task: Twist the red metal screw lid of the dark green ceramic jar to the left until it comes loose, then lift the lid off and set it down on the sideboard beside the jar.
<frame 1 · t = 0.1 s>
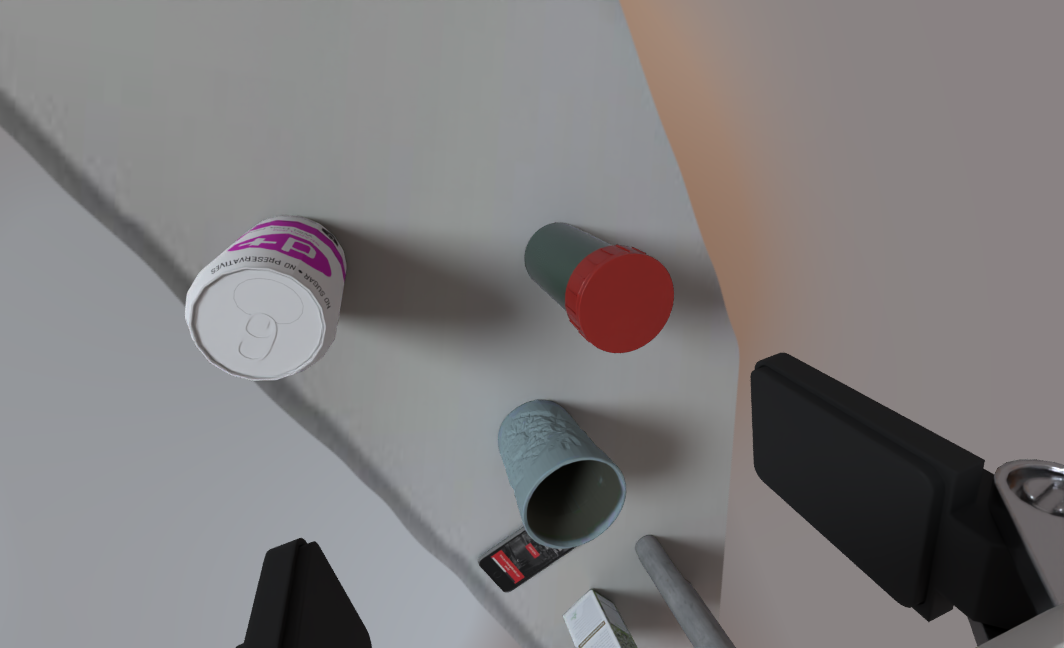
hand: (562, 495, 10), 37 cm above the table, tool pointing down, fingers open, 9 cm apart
lid: (624, 303, 36), point 14 cm above the table, screwed on, not yet turned
supplement can: (295, 262, 42), on the table
hip flask: (661, 568, 70), on the table
embossed blue cup: (536, 431, 56), on the table
smartphone: (541, 538, 61), on the table
jar: (556, 256, 49), on the table
syrup box: (588, 607, 69), on the table
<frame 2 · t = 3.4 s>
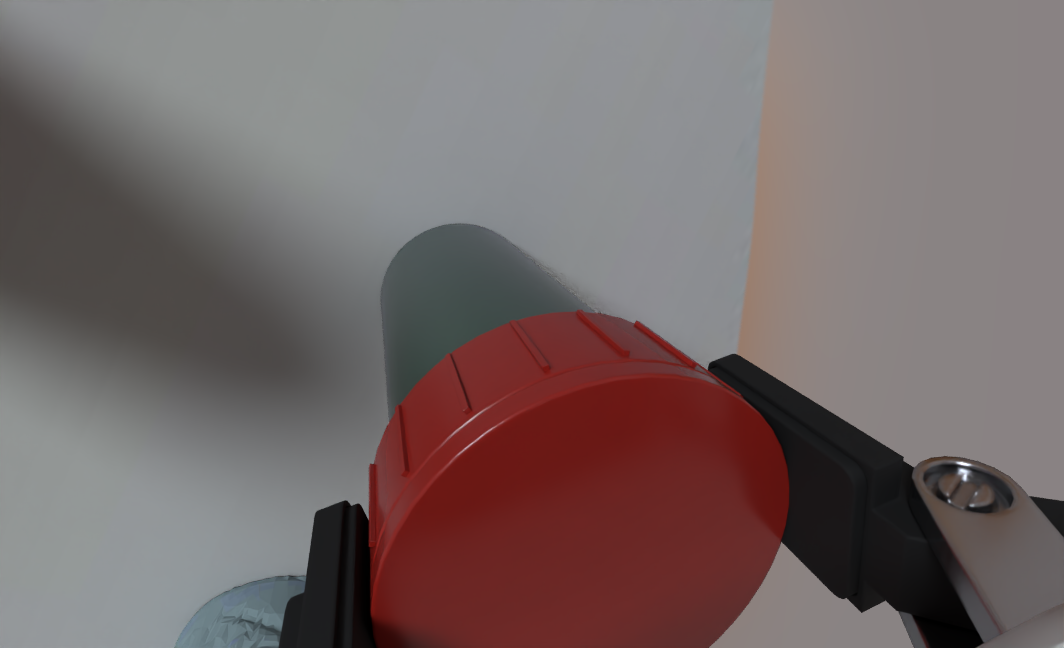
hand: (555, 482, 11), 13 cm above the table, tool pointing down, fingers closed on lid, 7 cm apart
lid: (592, 552, 9), point 14 cm above the table, screwed on, not yet turned, touching gripper
embossed blue cup: (282, 636, 25), on the table
jar: (459, 299, 22), on the table
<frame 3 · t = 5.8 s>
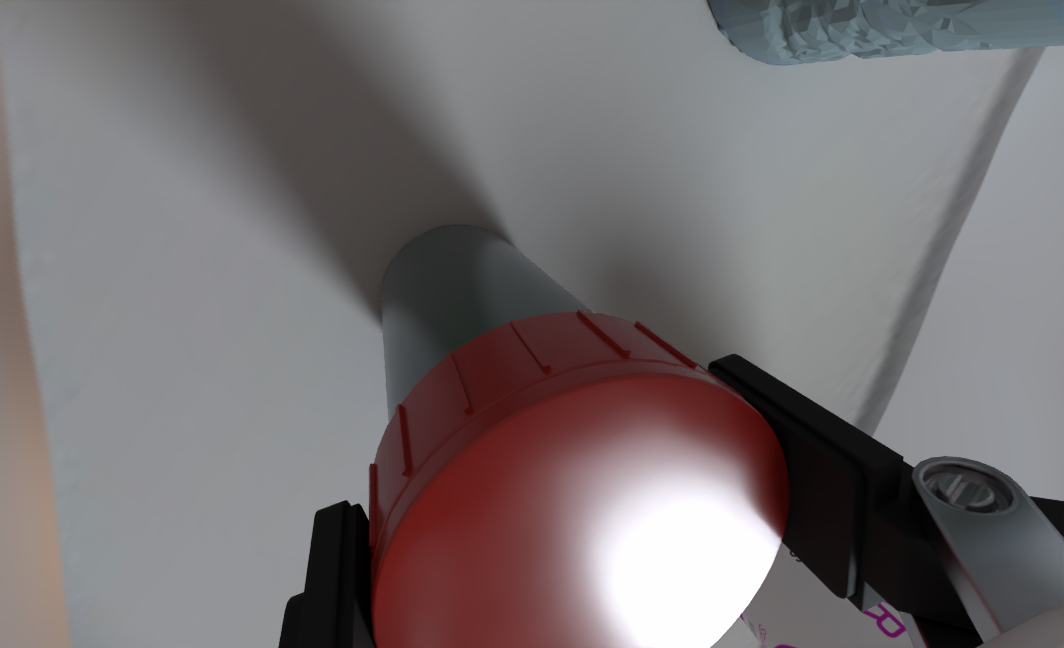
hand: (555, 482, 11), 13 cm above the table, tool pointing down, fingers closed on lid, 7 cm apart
lid: (593, 553, 9), point 15 cm above the table, off its thread, touching gripper
supplement can: (735, 506, 32), on the table
jar: (459, 300, 22), on the table
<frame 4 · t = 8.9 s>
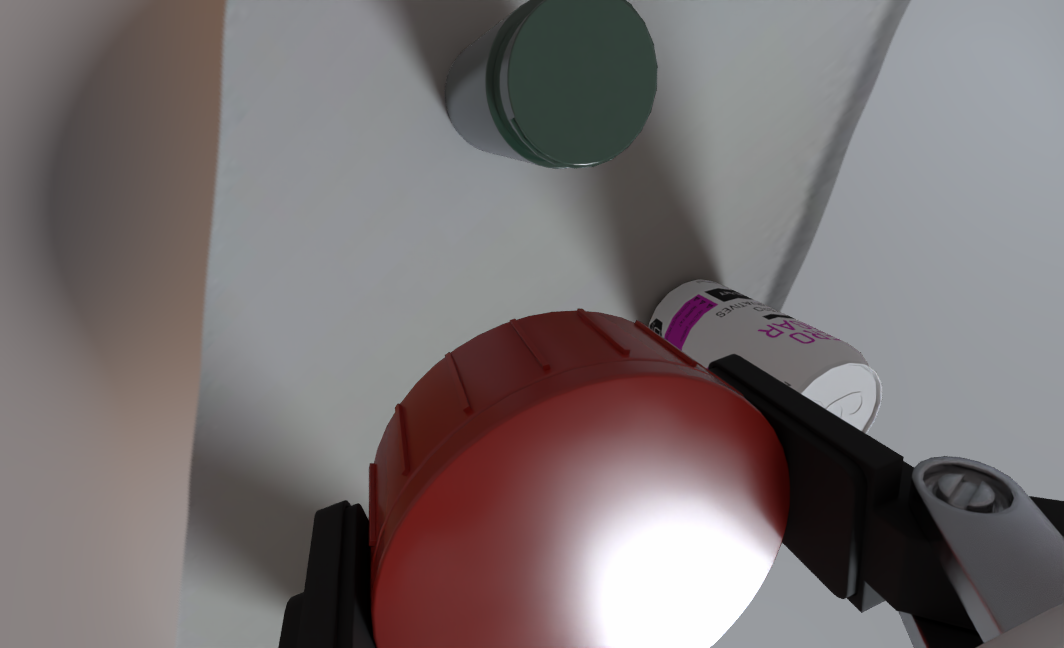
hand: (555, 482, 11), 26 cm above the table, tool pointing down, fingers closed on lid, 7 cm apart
lid: (593, 552, 9), point 28 cm above the table, off its thread, touching gripper
supplement can: (685, 322, 42), on the table
jar: (497, 98, 31), on the table
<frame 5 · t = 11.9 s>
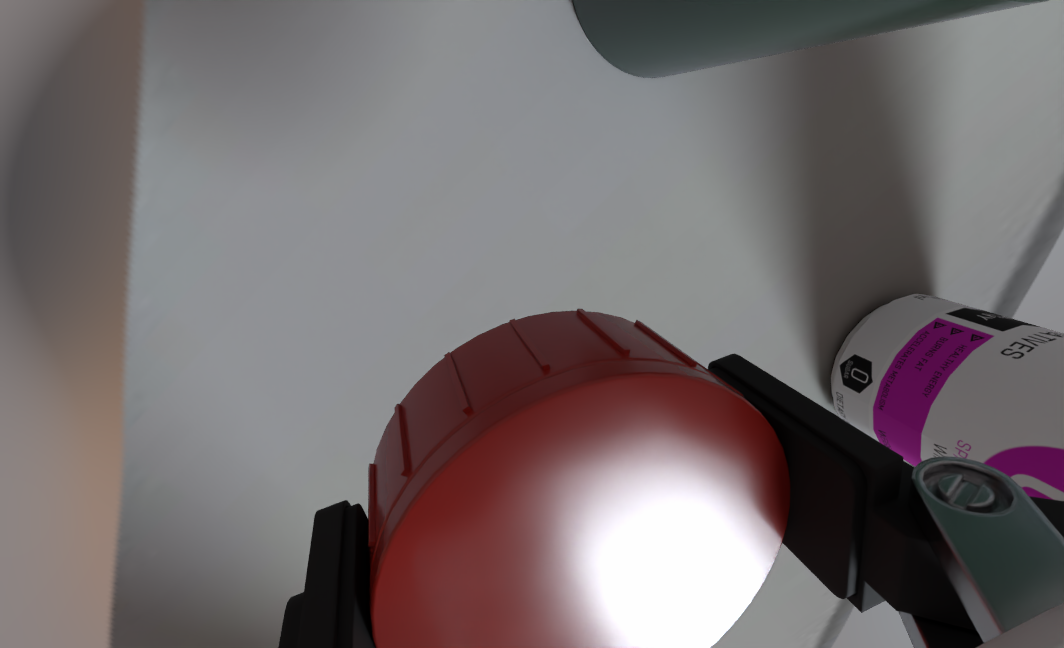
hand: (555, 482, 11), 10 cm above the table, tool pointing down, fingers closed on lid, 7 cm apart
lid: (593, 553, 9), point 12 cm above the table, off its thread, touching gripper
supplement can: (877, 358, 28), on the table
when the fingers open (0 cm above the table, at t = 14.5 s): lid stays where it is, point 2 cm above the table.
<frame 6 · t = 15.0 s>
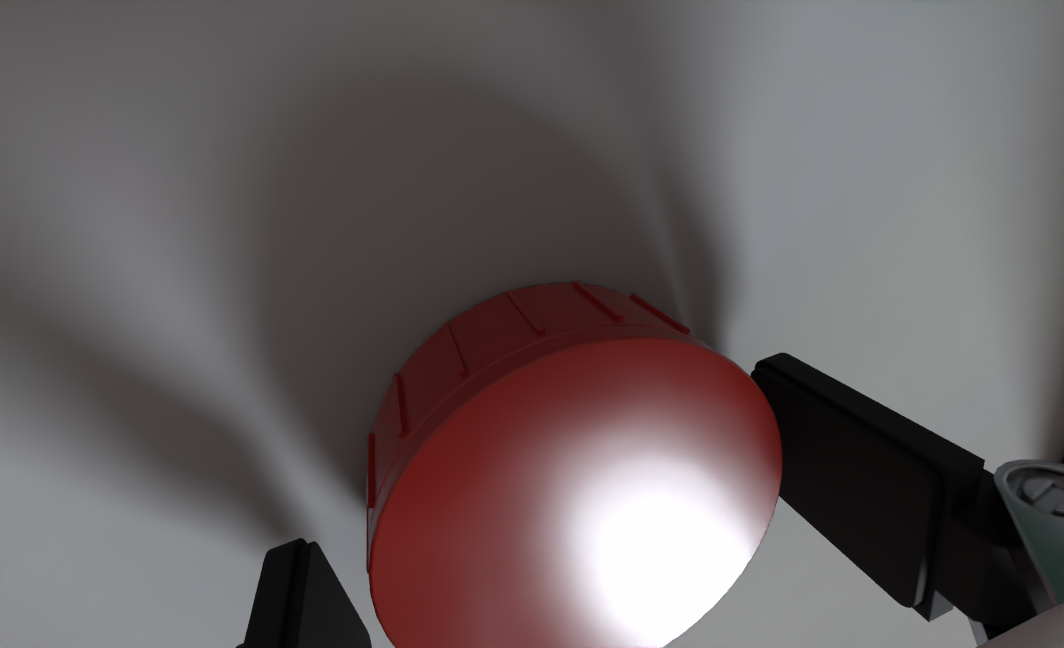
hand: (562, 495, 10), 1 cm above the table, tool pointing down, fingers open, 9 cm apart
lid: (588, 519, 9), point 2 cm above the table, off its thread
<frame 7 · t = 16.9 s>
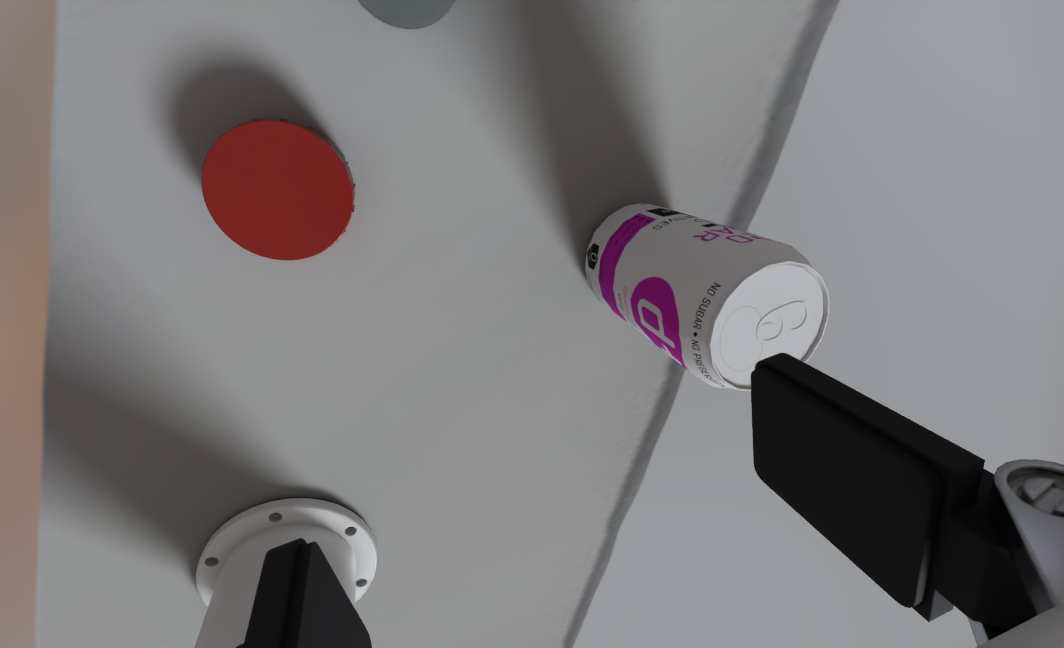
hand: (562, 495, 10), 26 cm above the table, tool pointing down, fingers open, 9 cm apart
lid: (282, 192, 28), point 2 cm above the table, off its thread
supplement can: (630, 255, 38), on the table
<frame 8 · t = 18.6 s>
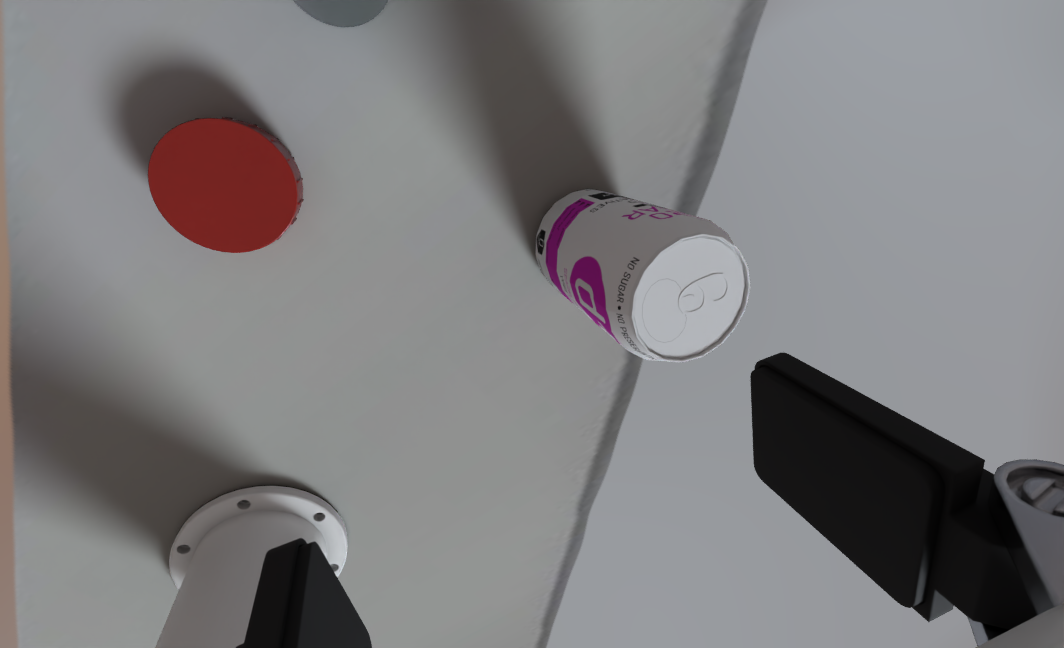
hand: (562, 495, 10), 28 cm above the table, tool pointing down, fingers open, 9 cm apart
lid: (228, 187, 29), point 2 cm above the table, off its thread
supplement can: (581, 241, 39), on the table
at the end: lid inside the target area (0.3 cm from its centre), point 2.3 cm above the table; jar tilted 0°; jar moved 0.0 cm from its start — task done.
